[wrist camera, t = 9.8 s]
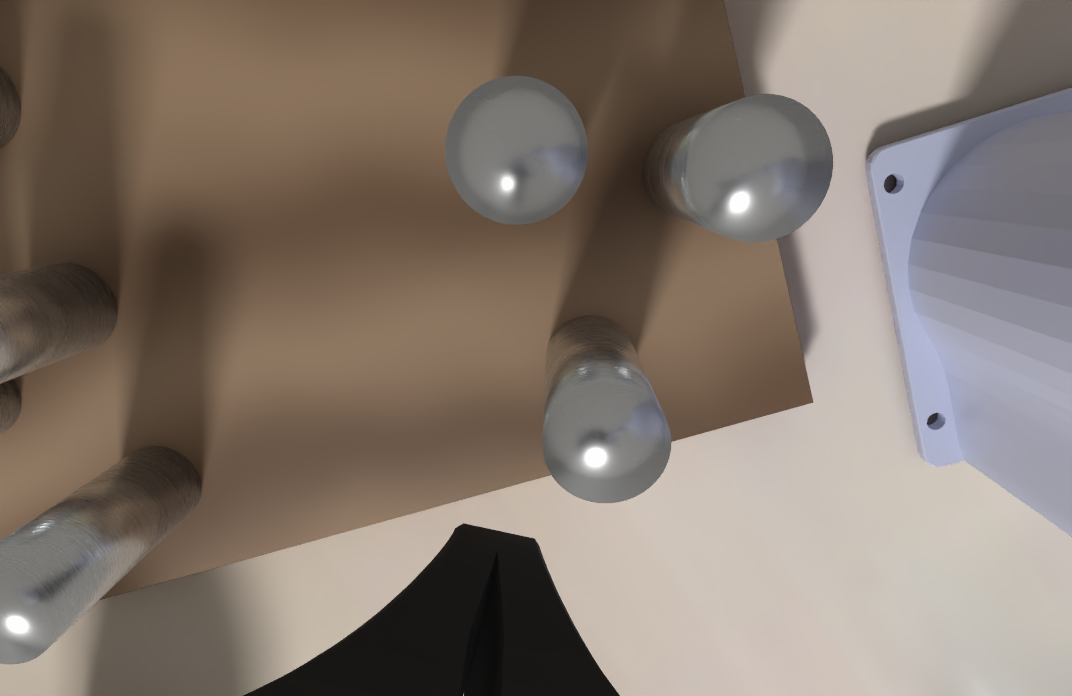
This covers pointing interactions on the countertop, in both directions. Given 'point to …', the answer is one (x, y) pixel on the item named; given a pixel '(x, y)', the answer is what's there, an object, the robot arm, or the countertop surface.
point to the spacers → (496, 193)
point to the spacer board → (354, 253)
